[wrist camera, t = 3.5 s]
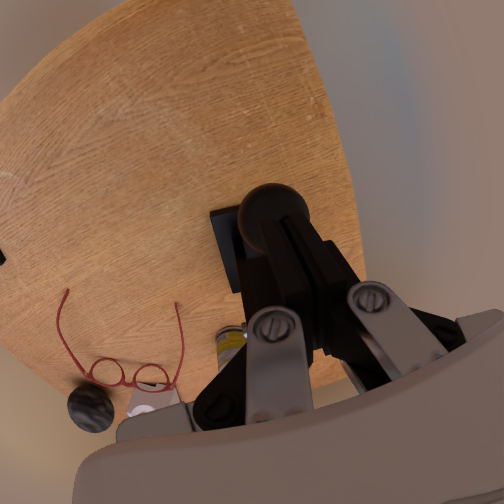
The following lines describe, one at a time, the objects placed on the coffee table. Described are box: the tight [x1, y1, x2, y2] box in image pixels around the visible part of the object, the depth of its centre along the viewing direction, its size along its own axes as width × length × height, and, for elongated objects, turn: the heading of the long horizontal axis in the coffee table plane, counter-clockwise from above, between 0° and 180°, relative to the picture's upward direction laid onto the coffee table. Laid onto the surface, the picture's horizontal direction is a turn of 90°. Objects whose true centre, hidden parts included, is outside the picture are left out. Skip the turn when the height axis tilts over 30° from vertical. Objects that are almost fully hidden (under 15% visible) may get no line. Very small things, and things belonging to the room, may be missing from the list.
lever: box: [238, 183, 310, 254], centre depth 16 cm, size 14×3×3 cm, turn 10°
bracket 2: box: [210, 205, 317, 350], centre depth 24 cm, size 10×8×13 cm
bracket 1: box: [126, 382, 180, 417], centre depth 43 cm, size 13×7×8 cm, turn 176°
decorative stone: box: [67, 386, 114, 433], centre depth 38 cm, size 10×10×10 cm
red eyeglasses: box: [56, 289, 184, 393], centre depth 32 cm, size 17×16×5 cm
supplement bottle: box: [216, 327, 247, 372], centre depth 33 cm, size 5×5×8 cm
